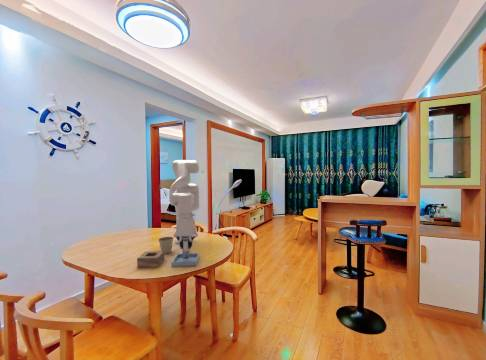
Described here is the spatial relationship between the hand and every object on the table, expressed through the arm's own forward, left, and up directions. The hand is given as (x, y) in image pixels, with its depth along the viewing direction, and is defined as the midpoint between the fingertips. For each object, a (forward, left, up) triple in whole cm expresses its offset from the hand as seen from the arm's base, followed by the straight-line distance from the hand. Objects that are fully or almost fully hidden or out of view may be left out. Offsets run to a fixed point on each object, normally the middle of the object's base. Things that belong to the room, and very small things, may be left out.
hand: (186, 247), depth 129 cm
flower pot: (-17, -16, -8) cm, 25 cm away
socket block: (+1, -19, -8) cm, 21 cm away
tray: (0, 0, -8) cm, 8 cm away
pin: (0, 0, -6) cm, 6 cm away
